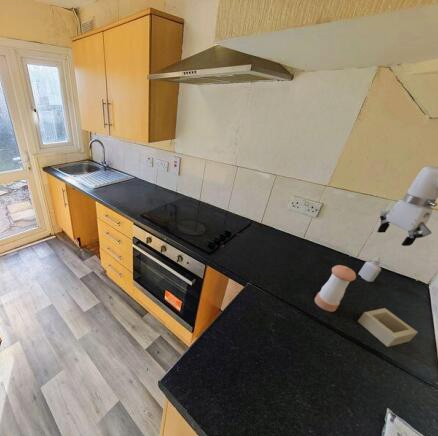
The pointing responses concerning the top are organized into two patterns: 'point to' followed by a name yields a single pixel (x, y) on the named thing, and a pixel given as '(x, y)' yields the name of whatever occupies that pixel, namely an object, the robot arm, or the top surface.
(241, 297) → the top surface
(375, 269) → the eye dropper bottle
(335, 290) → the salt shaker
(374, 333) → the socket block
